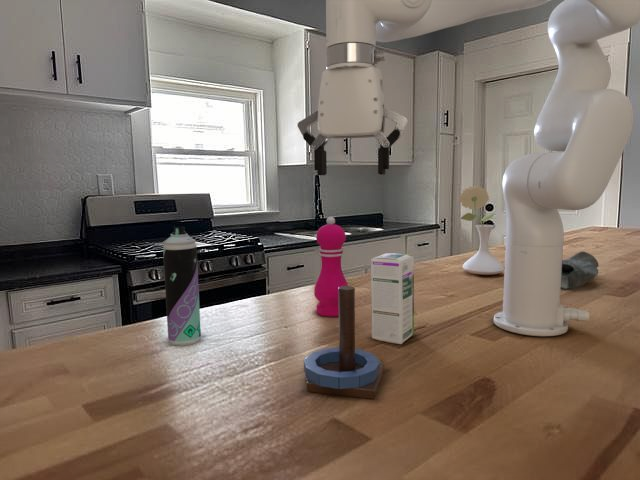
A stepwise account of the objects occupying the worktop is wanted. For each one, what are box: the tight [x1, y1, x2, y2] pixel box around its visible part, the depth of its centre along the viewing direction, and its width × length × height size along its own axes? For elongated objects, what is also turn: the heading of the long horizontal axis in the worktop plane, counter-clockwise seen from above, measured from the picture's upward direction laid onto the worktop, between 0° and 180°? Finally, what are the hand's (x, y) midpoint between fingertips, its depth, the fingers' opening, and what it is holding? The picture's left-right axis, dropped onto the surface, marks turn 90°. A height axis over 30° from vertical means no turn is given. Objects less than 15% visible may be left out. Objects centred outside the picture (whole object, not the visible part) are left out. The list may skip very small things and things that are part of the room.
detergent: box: [561, 251, 599, 290], centre depth 122 cm, size 13×7×25 cm
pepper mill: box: [313, 216, 349, 318], centre depth 95 cm, size 7×7×20 cm
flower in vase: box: [458, 185, 505, 276], centre depth 131 cm, size 13×11×25 cm
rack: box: [306, 285, 385, 400], centre depth 63 cm, size 9×9×13 cm
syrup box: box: [370, 252, 415, 345], centre depth 80 cm, size 6×6×14 cm
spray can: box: [162, 226, 202, 347], centre depth 80 cm, size 6×6×20 cm
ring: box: [303, 347, 381, 389], centre depth 64 cm, size 10×10×2 cm
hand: (351, 174), depth 73 cm, fingers open, 9 cm apart
